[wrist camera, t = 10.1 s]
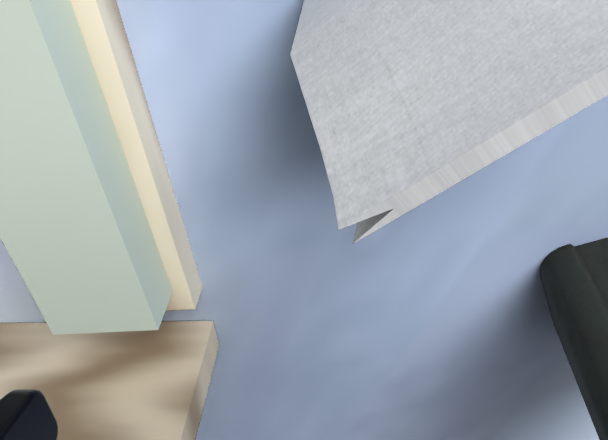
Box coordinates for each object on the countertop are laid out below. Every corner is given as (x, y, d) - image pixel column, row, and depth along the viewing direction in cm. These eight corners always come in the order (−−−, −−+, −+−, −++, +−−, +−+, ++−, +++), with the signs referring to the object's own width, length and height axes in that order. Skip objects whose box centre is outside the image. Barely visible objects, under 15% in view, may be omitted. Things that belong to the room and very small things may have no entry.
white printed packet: (308, -17, 16) (264, 151, 8) (528, -204, 14) (796, -234, 5) (382, 81, 18) (409, 304, 10) (594, -70, 15) (881, 66, 7)
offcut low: (68, -192, 15) (33, -193, 13) (206, 275, 24) (195, 309, 22) (-105, -163, 15) (-158, -161, 14) (93, 281, 25) (75, 314, 23)
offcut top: (21, -137, 14) (-23, -131, 12) (172, 291, 22) (158, 330, 20) (-125, -113, 14) (-186, -104, 13) (74, 296, 22) (52, 334, 21)
